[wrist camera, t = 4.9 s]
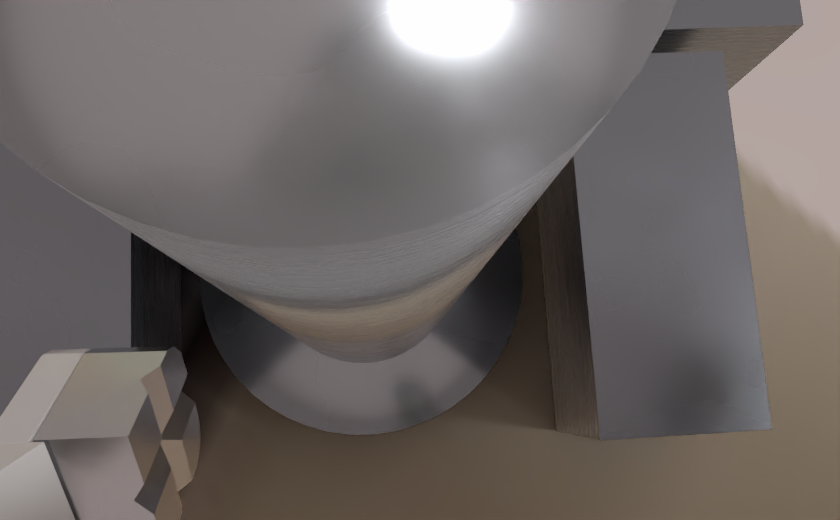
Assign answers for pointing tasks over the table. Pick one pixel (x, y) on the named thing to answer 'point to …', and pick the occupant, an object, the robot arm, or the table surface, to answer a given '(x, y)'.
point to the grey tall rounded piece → (326, 168)
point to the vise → (559, 242)
